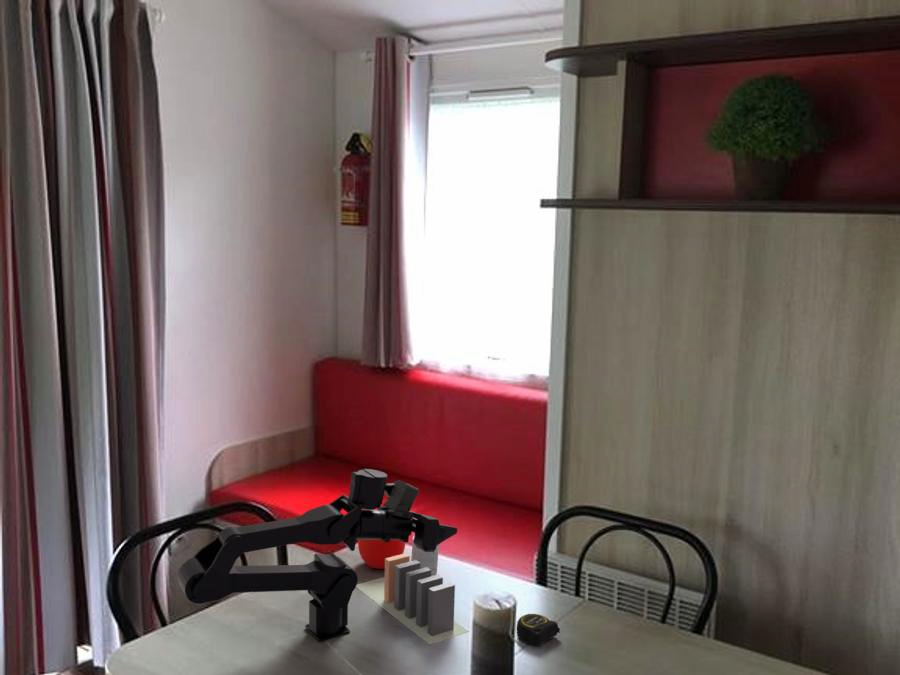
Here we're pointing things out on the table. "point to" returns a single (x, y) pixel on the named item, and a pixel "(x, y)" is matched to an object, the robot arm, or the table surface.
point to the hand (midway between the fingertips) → (444, 525)
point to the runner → (376, 593)
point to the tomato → (379, 551)
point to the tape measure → (536, 629)
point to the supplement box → (425, 558)
